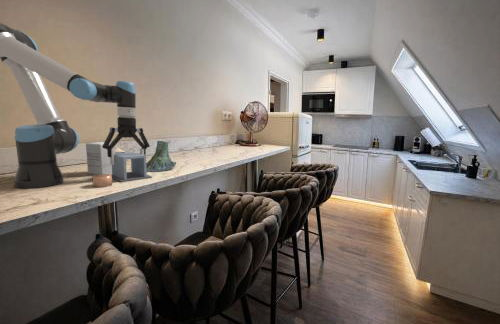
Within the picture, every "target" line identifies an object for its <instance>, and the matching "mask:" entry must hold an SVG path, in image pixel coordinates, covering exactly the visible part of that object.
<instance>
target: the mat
mask: <svg viewBox="0 0 500 324" xmlns="http://www.w3.org/2000/svg"><path fill="white" fill-rule="evenodd" d="M110 174H111V175H112V173H110ZM152 177H153V176H152V175H149V174H147V177H143V176H141V175H138V174H135V173H132V172H131V171H127V180H124V179H121V178H119V177H117V176H114V175H112V180H115V181H118V182H119V183H126V182H133V181H139V180H144V179H152Z"/></svg>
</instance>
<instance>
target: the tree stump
mask: <svg viewBox="0 0 500 324" xmlns="http://www.w3.org/2000/svg"><path fill="white" fill-rule="evenodd" d="M176 165H177V162H176V161H172V158H171V157H170V154H169V142H167V141H164V140H157V141H156V148H155V152H154V154H153V155H152V156H151V159H149V160H148V161H146V169H147V173H161V172H162V173H163V172H169V171H172V169H173V168H175V167H176Z"/></svg>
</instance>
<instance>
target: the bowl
mask: <svg viewBox="0 0 500 324" xmlns="http://www.w3.org/2000/svg"><path fill="white" fill-rule="evenodd" d="M111 174H112V173H109V174H93V175H92V183H93V185H92V186H93V187H95V188H107V187H111V186H112V185H113V179H112V175H111Z"/></svg>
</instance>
